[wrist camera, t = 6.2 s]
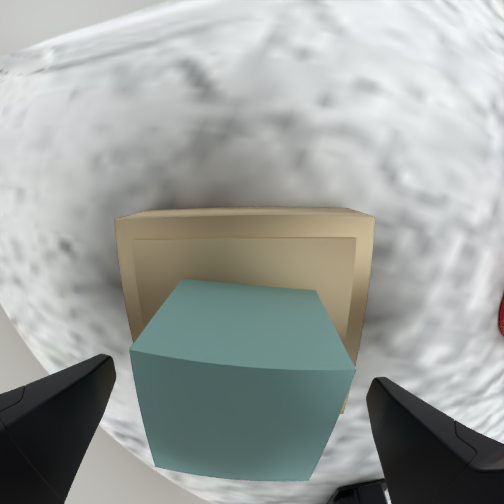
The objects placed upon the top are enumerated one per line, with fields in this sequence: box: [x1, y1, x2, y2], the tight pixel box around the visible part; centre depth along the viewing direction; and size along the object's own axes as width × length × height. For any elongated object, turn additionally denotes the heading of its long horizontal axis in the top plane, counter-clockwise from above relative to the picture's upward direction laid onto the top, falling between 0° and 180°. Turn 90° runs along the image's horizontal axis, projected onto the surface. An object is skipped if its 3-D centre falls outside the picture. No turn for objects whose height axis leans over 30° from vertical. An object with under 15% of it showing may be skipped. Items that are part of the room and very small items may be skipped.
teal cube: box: [129, 278, 356, 481], centre depth 9 cm, size 5×5×5 cm
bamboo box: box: [115, 207, 375, 414], centre depth 13 cm, size 10×10×4 cm
